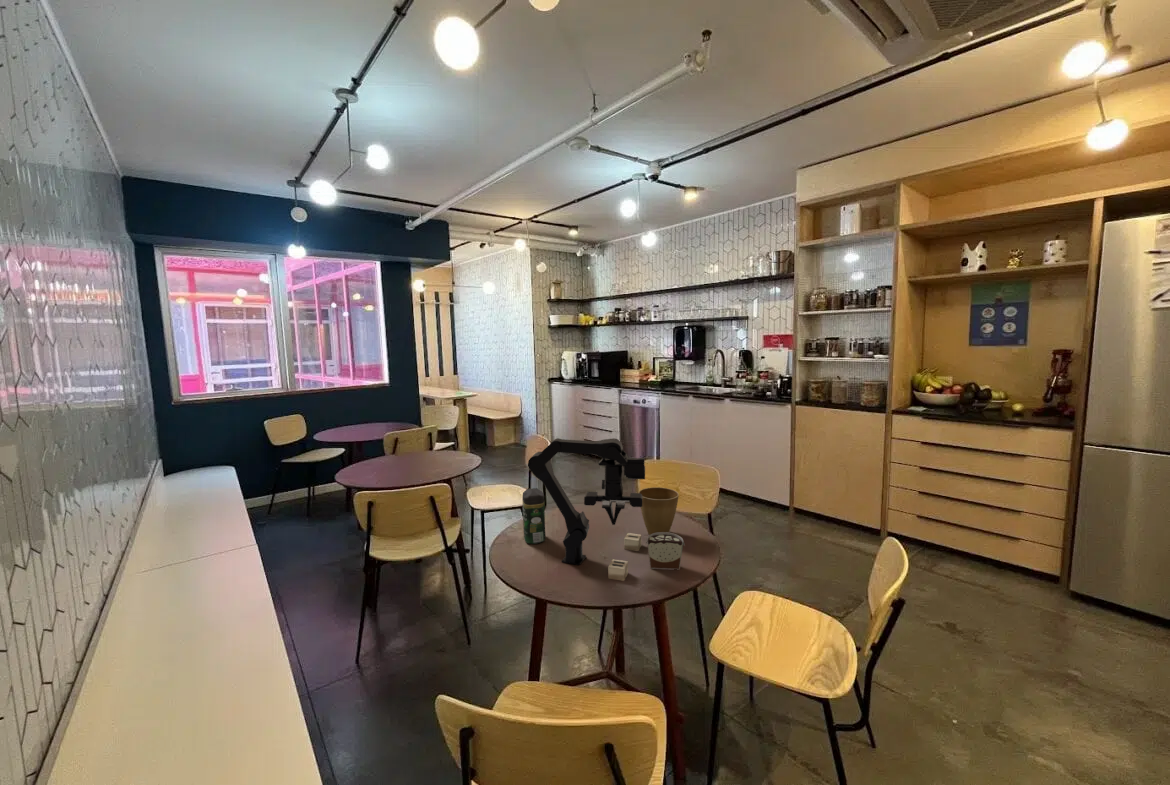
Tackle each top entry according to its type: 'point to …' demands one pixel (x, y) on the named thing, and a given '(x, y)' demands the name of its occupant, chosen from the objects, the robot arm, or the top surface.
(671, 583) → the top surface
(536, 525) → the coffee jar
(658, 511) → the plant pot
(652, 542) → the food container
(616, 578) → the numbered tile two
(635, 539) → the numbered tile one
